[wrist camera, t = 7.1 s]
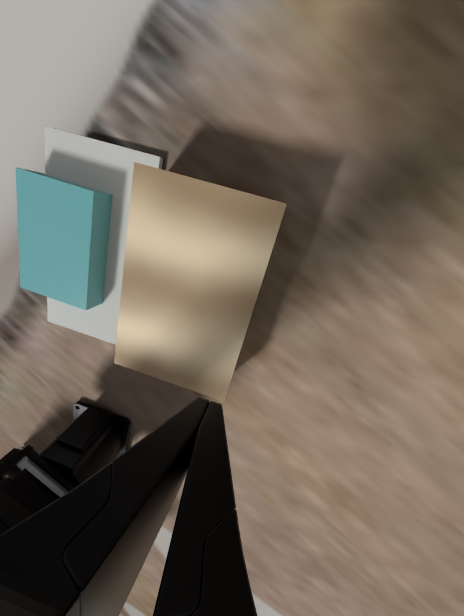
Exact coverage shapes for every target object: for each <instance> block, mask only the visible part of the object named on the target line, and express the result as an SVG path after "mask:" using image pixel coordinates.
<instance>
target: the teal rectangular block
mask: <svg viewBox="0 0 464 616" xmlns="http://www.w3.org/2000/svg"><path fill="white" fill-rule="evenodd" d="M16 186H17V211H18V234H19V260H20V284H21V288H24V289H27V290H29V291H32V292H35V293H38V294H41V295H44V296H46V297H49V298H52V299H55V300H58V301H60V302H63V303H66V304H69V305H72V306H75V307H77V308H80V309H83V310H88V309H91V308H93V307H95V306H97V305H100V304H102V303H103V295H104V284H105V273H106V262H107V251H108V240H109V229H110V218H111V206H112V195H111V194H108V193H105V192H102V191H98V190H95V189H92V188H89V187H85V186H82V185H79V184H76V183H72V182H69V181H66V180H63V179H60V178H56V177H53V176H50V175H47V174H43V173H39V172H35V171H30V170H25V169H20V168H16Z"/></svg>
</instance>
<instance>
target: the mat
mask: <svg viewBox="0 0 464 616" xmlns="http://www.w3.org/2000/svg"><path fill="white" fill-rule="evenodd" d="M134 162H136V163H140V164H144V165H147V166H151V167H155V168H158V169H162V164H163V158H161V157H159V156H155V155H151V154H147V153H144V152H140V151H136V150H133V149H129V148H125V147H121V146H118V145H114V144H110V143H107V142H103V141H99V140H95V139H92V138H88V137H84V136H81V135H77V134H73V133H69V132H66V131H62V130H58V129H54V128H51V127H47V126H45V169H46V174H47V175H50V176H53V177H56V178H60V179H63V180H66V181H69V182H72V183H76V184H79V185H82V186H85V187H89V188H92V189H95V190H98V191H102V192H105V193H108V194H111V195H112V206H111V218H110V229H109V240H108V251H107V262H106V273H105V284H104V295H103V303H102V304H100V305H97V306H95V307H93V308H91V309H88V310H83V309H80V308H77V307H75V306H72V305H69V304H66V303H63V302H60V301H58V300H55V299H52V298H49V297H47V301H48V321H49V322H52V323H55V324H58V325H60V326H63V327H66V328H69V329H72V330H75V331H78V332H81V333H84V334H86V335H89V336H92V337H95V338H98V339H101V340H104V341H107V342H110V343H112V344H115V345H116V338H117V328H118V318H119V308H120V298H121V288H122V278H123V268H124V258H125V248H126V238H127V228H128V218H129V208H130V198H131V188H132V179H133V169H134Z"/></svg>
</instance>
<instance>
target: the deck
mask: <svg viewBox="0 0 464 616" xmlns="http://www.w3.org/2000/svg"><path fill="white" fill-rule="evenodd" d="M286 205H287V204H286V203H283V202H279V201H275V200H272V199H268V198H264V197H261V196H257V195H253V194H250V193H246V192H242V191H239V190H235V189H231V188H228V187H224V186H220V185H217V184H213V183H209V182H206V181H202V180H198V179H195V178H191V177H187V176H184V175H180V174H177V173H173V172H169V171H166V170H162V169H158V168H155V167H151V166H147V165H144V164H140V163H136V162H134V169H133V179H132V188H131V198H130V208H129V218H128V228H127V238H126V248H125V258H124V268H123V278H122V288H121V298H120V308H119V318H118V328H117V338H116V348H115V358H114V363H115V364H118V365H121V366H124V367H126V368H129V369H132V370H135V371H138V372H141V373H143V374H146V375H149V376H152V377H155V378H158V379H160V380H163V381H166V382H169V383H172V384H175V385H177V386H180V387H183V388H186V389H189V390H191V391H194V392H197V393H200V394H203V395H206V396H208V397H211V398H214V399H217V400H220V401H223V402H224V401H225V398H226V394H227V391H228V388H229V385H230V382H231V379H232V376H233V373H234V369H235V366H236V363H237V360H238V357H239V354H240V350H241V347H242V344H243V341H244V338H245V335H246V332H247V328H248V325H249V322H250V319H251V316H252V313H253V310H254V306H255V303H256V300H257V297H258V294H259V291H260V287H261V284H262V281H263V278H264V275H265V272H266V269H267V265H268V262H269V259H270V256H271V253H272V250H273V246H274V243H275V240H276V237H277V234H278V231H279V228H280V224H281V221H282V218H283V215H284V212H285V209H286Z"/></svg>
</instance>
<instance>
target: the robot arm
mask: <svg viewBox="0 0 464 616" xmlns="http://www.w3.org/2000/svg"><path fill="white" fill-rule="evenodd" d="M130 426H131V422H130V421H129V420H128V419H126V418H123V417H121V416H118V415H115V414H113V413H110V412H107V411H104V410H102V409H99V408H96V407H94V406H91V405H88V404H86V403H83V402H80V401H77V402H76V403H75V404H74V405H73V422H72V423H71V424H70V425H69V426H68V427H67V428H66V429H65V430H64V431H63V432H62V433H60V434H59V435H58V436H57V438H56V439H55V440H54V441H53V442H52V443H51V444H50V445H49V446H48V447H47V448H46V449H45V450H44V451H42V452H41V453H40V454H38V453H36V452H35V451H34V450H33V449H34V448H33V447H31V446H30V445H28V446H27V447H25V448H24V449H23V450H22V449H21V450H20V449H15V448H14V449H13V450H11V451H10V452H9V453H8V454H7V455H5V456H4V457H3V458H2V459H1V460H0V616H119V614H120V612H121V610H122V608H123V606H124V603H125V601H126V599H127V597H128V595H129V593H130V591H131V589H132V587H133V585H134V583H135V580H136V578H137V576H138V574H139V572H140V570H141V568H142V566H143V564H144V562H145V560H146V558H147V555H148V553H149V551H150V549H151V547H152V545H153V543H154V541H155V539H156V537H157V534H158V532H159V530H160V528H161V526H162V524H163V522H164V520H165V518H166V516H167V514H168V512H169V509H170V507H171V505H172V503H173V501H174V499H175V497H176V495H177V493H178V491H179V489H180V486H181V484H182V482H183V480H184V478H185V476H186V479H185V483H184V488H183V492H182V496H181V500H180V504H179V509H178V513H177V517H176V521H175V525H174V530H173V534H172V538H171V542H170V547H169V551H168V555H167V559H166V563H165V567H164V571H163V576H162V580H161V584H160V588H159V592H158V597H157V601H156V605H155V609H154V613H153V616H257V613H256V608H255V605H254V600H253V596H252V592H251V588H250V583H249V579H248V574H247V569H246V565H245V560H244V555H243V550H242V544H241V538H240V531H239V525H238V518H237V511H236V510H235V509H236V504H235V497H234V490H233V482H232V475H231V468H230V460H229V453H228V446H227V438H226V431H225V424H224V416H223V409H222V405H221V404H219V403H216V402H213V401H211V402H209V400H207V399H204V398H201V397H198V398H196V399H195V400H194V401H192V402H191V403H190V404H188V405H187V406H186V407H184V408H183V409H182V410H180V411H179V412H178V413H176V414H175V415H174V416H172V417H171V418H170V419H168V420H167V421H166V422H164V423H163V424H161V425H160V426H159V427H157V428H156V429H155V430H153V431H152V432H151V433H149V434H148V435H147V436H145V437H144V438H143V439H141V440H140V441H139V442H137V443H136V444H135V445H133V446H132V447H131V448H129V449H128V450H127V446H128V439H129V432H130ZM111 462H112V464H111ZM186 474H187V475H186ZM5 476H7V477H6V478H4V477H5Z"/></svg>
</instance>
